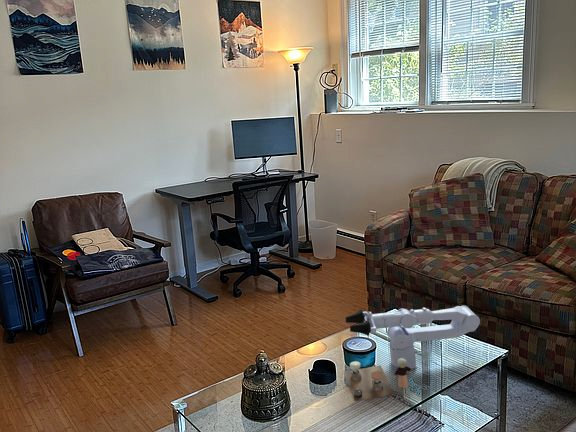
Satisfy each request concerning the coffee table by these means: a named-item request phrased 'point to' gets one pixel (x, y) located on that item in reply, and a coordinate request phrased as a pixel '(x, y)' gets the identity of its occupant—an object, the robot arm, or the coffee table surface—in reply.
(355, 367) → the knob far
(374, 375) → the knob near
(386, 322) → the robot arm
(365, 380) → the beige rectangular board
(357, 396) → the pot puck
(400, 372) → the grandmother figurine
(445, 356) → the coffee table surface
